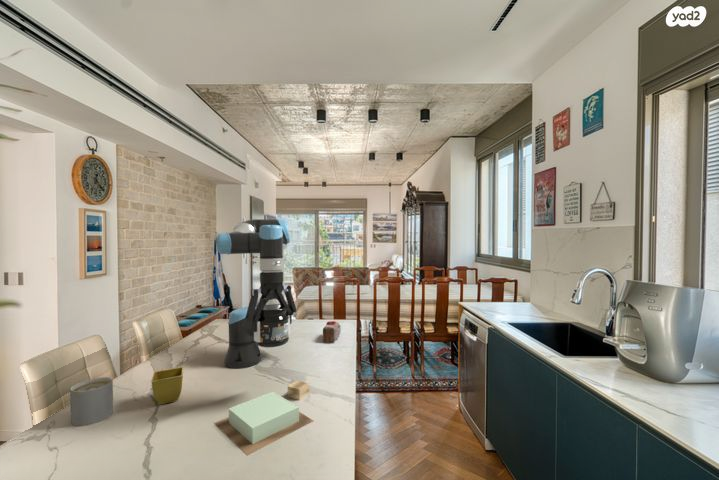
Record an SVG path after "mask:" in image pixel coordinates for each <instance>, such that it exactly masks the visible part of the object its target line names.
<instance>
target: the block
mask: <svg viewBox="0 0 719 480" xmlns="http://www.w3.org/2000/svg"><path fill="white" fill-rule="evenodd" d="M309 394H310V383H308V382H305V381H301V380H296V381H294V382H293V383H291V384H289V385H288V386H287V398H290V399H291V398H292V399H294V400H298V401H301V400H302V399H304V398H305V397H307V396H308V395H309Z"/></svg>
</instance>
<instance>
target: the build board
mask: <svg viewBox="0 0 719 480" xmlns="http://www.w3.org/2000/svg"><path fill="white" fill-rule="evenodd" d="M313 422H314V420H313V419H311V418H310V417H308V416H307V415H305V414H304V413H302V412H300V411H299V421H298V422H296V423H294V424H292V425H290V426H288V427H286V428H284V429H282V430H280V431H278V432H276V433H274V434H272V435H270V436H268V437H266V438H264V439H262V440H260V441H258V442H256V443H254V444H252V443H251V442H250V441H249V440H248V439H247V438H245V437H244V436H243V435H242V434H241V433H240V432H239V431H238V430H236V429H235V428H234V427H233V426H232V425H231V424H230V423H229V416H228V417H225V418H223V419H220V420H217V421H215V422H214V424H213V425H215V426H216V427H217V428H218V429H219V430H220V431H221V432H222V433H223V434H224V435H225V436H226V437H227V438H229V440H231V441H232V443H234V444H235V446H237V447H238V449H239V450H241V451H242V452H243V453H244V454H245V455H246V456H249V455H251V454H253V453H255V452H257V451H258V450H261V449H263V448H264V447H267V446H269V445H271V444H272V443H274V442H276V441H279V440H280V439H282V438H284V437H287V435H290V434H292V433H294V432H296V431H298V430H299V429H302V428H303V427H305V426H307V425H309V424H311V423H313Z"/></svg>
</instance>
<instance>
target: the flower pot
mask: <svg viewBox="0 0 719 480" xmlns="http://www.w3.org/2000/svg"><path fill="white" fill-rule="evenodd" d="M183 376H184V366H179V367H174V368H173V367H172V368H169V369H162V370H158V371H156V370H155V371H154V372H153V375H152V378H151V381H150V382H151V388H152V393H153V397H154V400H155V401H156V402H157V404H158V405H164V404H165V405H166V404H169V403H174V402H176V401H177V402H178V400H179V399H180V396H181V394H182V390H183V389H182V388H183Z"/></svg>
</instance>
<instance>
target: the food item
mask: <svg viewBox="0 0 719 480" xmlns="http://www.w3.org/2000/svg"><path fill="white" fill-rule="evenodd" d="M341 326H342V325H341V324H340V323H339V322H337V321H335V320H333V321H332V320H330V321H327V322H326V325H324V327H323V328H322V343H324V344H335V342H336V341H338V339H339V338H340V334H341V331H342V329H341V328H342V327H341Z"/></svg>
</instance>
